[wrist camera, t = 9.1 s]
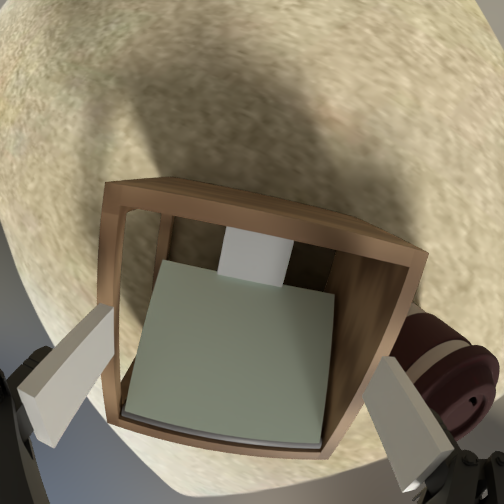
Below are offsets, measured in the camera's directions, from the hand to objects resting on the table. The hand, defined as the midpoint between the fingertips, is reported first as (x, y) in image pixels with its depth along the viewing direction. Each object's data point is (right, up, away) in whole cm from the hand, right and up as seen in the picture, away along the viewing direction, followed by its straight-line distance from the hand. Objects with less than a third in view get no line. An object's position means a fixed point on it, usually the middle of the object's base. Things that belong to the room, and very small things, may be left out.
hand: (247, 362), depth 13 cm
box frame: (0, +2, +15) cm, 15 cm away
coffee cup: (+16, -3, +16) cm, 23 cm away
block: (0, +4, +12) cm, 12 cm away
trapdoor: (-1, -3, +8) cm, 9 cm away
